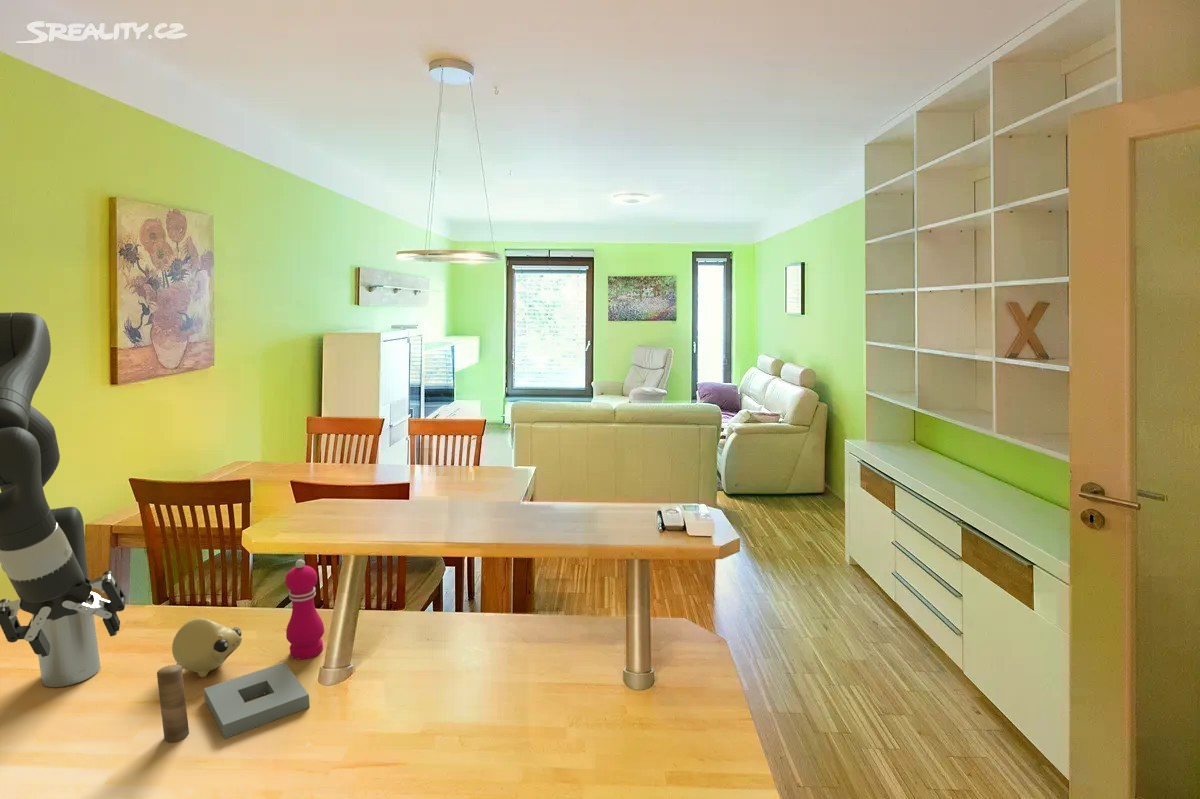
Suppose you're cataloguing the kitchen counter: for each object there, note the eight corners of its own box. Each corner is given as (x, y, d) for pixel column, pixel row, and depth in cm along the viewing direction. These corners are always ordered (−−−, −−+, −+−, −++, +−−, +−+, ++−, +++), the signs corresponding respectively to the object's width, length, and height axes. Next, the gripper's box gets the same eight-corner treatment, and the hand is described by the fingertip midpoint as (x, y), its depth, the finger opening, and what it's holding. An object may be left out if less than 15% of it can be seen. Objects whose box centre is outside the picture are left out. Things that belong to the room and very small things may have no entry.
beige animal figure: (223, 685, 137) (218, 633, 136) (163, 682, 139) (157, 630, 137) (252, 658, 147) (248, 609, 145) (197, 655, 148) (192, 606, 146)
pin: (162, 734, 123) (155, 669, 121) (186, 726, 125) (179, 662, 123) (166, 745, 120) (158, 678, 118) (191, 736, 123) (183, 671, 120)
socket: (205, 700, 133) (204, 688, 132) (285, 674, 141) (284, 662, 141) (224, 738, 122) (223, 725, 122) (309, 707, 131) (308, 694, 130)
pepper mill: (297, 642, 153) (290, 552, 150) (331, 642, 153) (324, 553, 150) (281, 660, 146) (273, 566, 143) (316, 661, 146) (310, 567, 142)
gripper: (101, 528, 105) (137, 609, 113) (-19, 558, 100) (27, 640, 108) (96, 560, 99) (134, 643, 107) (-32, 594, 94) (18, 678, 102)
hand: (80, 642), depth 108 cm, fingers open, 8 cm apart
